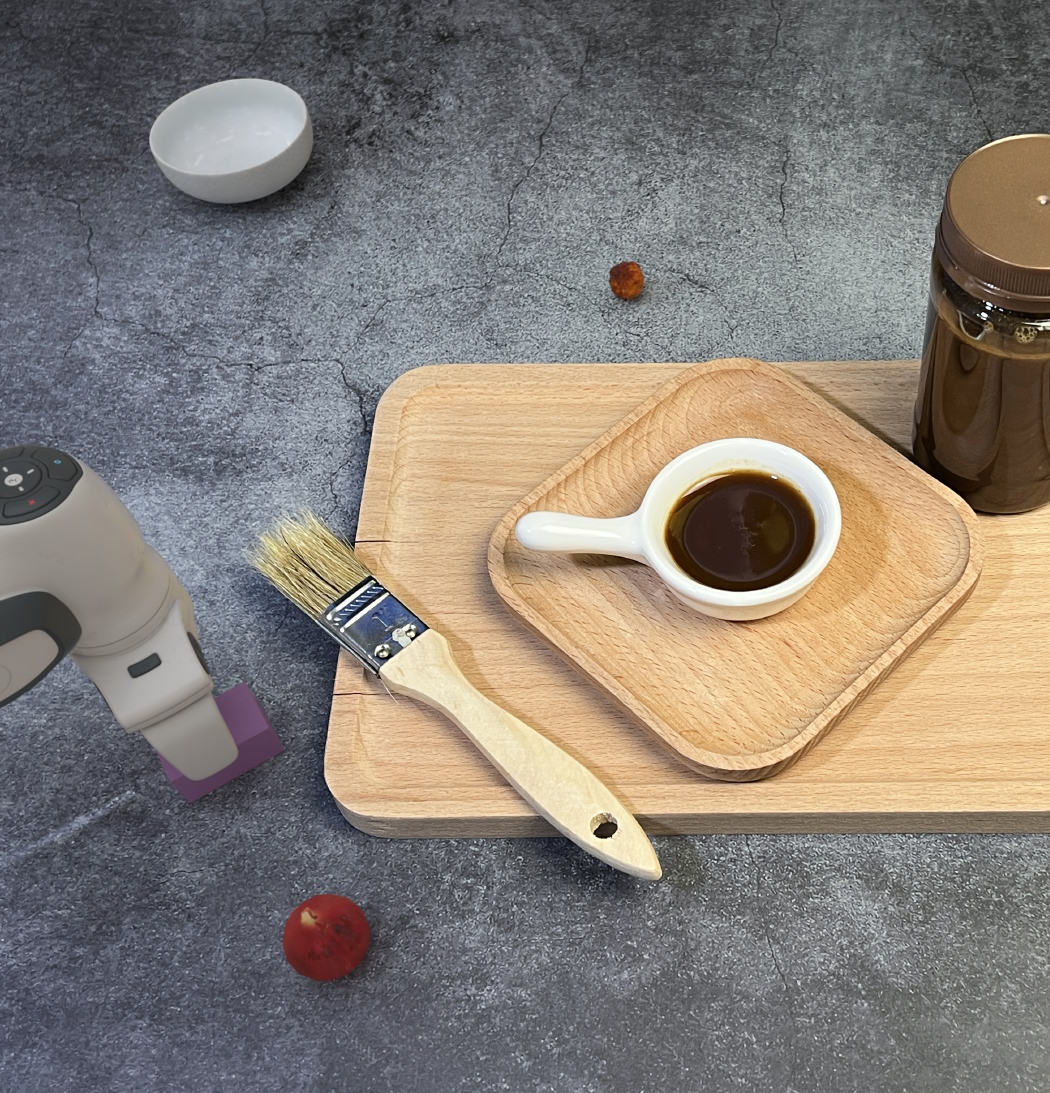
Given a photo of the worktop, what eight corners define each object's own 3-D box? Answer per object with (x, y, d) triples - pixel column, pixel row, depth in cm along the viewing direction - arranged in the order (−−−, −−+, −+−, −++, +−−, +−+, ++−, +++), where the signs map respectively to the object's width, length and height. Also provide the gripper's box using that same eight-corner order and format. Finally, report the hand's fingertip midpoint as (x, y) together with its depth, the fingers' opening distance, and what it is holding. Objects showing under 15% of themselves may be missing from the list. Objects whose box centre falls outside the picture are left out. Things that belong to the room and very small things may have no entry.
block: (168, 755, 104) (147, 733, 100) (261, 704, 106) (244, 681, 103) (190, 803, 101) (170, 782, 98) (285, 750, 103) (268, 727, 100)
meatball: (640, 279, 132) (636, 249, 129) (650, 302, 130) (646, 273, 127) (606, 288, 132) (601, 258, 129) (616, 311, 130) (611, 282, 127)
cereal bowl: (356, 153, 146) (338, 99, 140) (262, 245, 138) (238, 193, 132) (240, 113, 151) (217, 60, 145) (141, 200, 143) (114, 147, 137)
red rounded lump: (395, 927, 95) (365, 889, 88) (359, 1004, 92) (326, 970, 85) (324, 904, 96) (290, 865, 89) (287, 980, 93) (248, 944, 86)
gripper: (36, 539, 96) (116, 634, 108) (127, 743, 86) (205, 824, 98) (118, 499, 98) (188, 596, 110) (216, 694, 88) (282, 779, 100)
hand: (197, 705), depth 104 cm, fingers closed
